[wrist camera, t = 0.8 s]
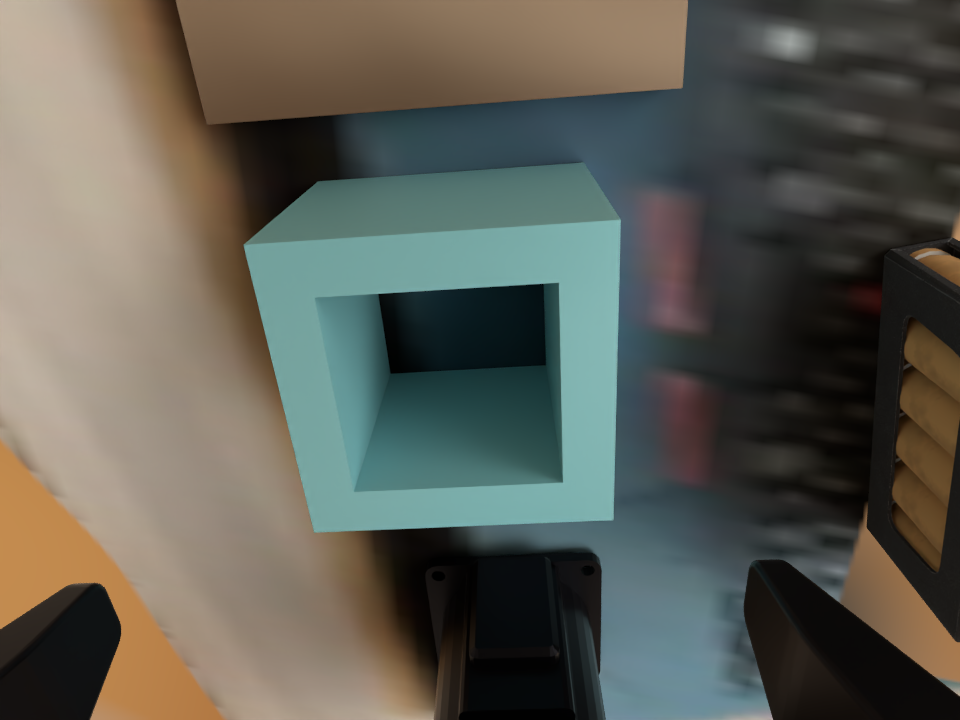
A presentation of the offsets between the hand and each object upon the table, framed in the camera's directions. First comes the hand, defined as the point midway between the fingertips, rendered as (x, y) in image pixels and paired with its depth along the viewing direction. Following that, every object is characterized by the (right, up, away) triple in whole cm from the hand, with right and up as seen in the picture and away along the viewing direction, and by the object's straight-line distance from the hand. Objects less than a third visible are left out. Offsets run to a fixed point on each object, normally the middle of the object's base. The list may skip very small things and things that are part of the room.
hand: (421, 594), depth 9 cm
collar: (0, +5, +11) cm, 12 cm away
